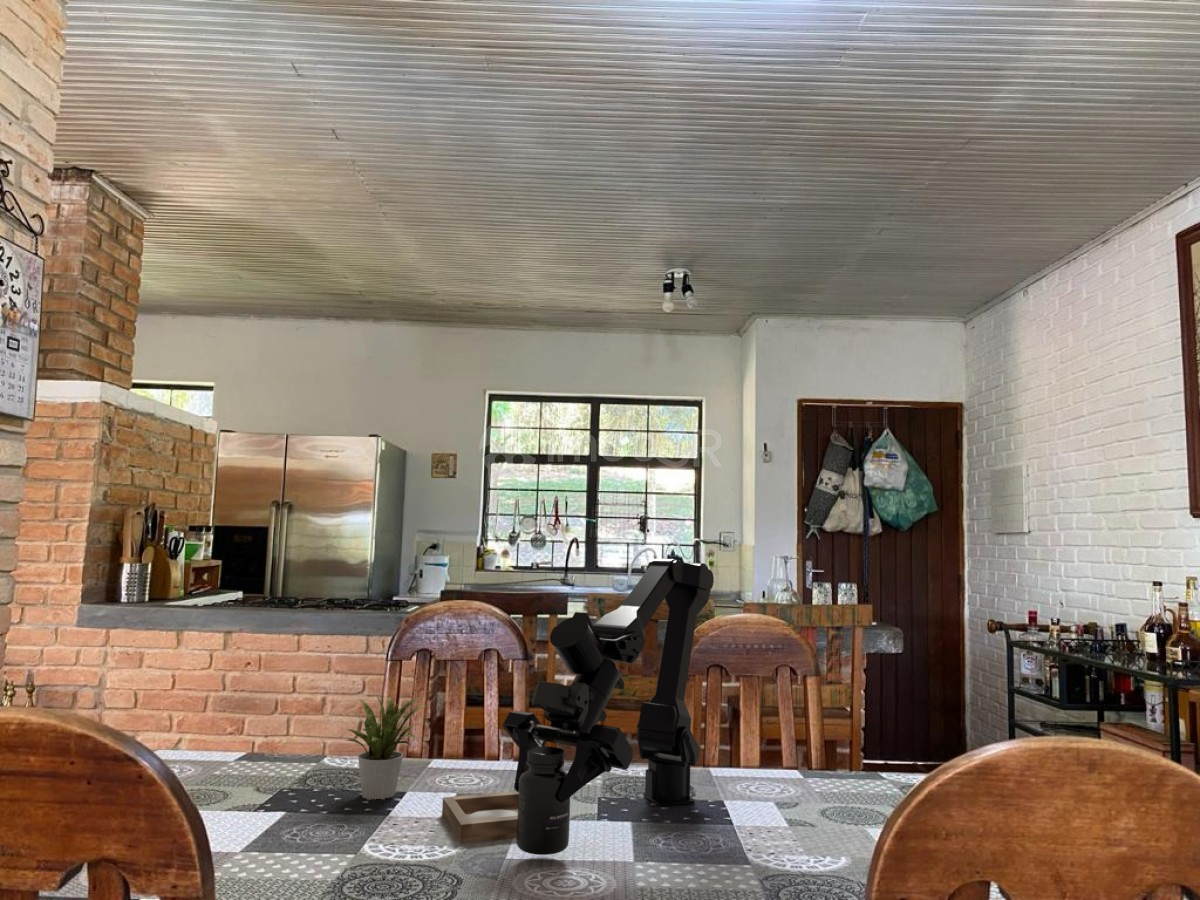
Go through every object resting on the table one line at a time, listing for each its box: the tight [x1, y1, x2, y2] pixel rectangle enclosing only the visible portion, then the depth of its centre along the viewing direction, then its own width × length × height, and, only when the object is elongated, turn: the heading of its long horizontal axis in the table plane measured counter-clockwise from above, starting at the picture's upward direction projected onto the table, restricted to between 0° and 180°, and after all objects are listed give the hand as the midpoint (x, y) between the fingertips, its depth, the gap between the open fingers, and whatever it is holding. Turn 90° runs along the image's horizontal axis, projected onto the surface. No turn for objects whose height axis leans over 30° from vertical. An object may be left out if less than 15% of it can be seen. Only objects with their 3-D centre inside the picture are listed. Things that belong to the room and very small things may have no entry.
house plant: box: [344, 692, 430, 801], centre depth 130 cm, size 14×14×16 cm
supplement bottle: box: [516, 745, 571, 856], centre depth 103 cm, size 7×7×12 cm
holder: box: [441, 790, 518, 844], centre depth 116 cm, size 13×13×2 cm
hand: (537, 795), depth 102 cm, fingers closed on supplement bottle, 7 cm apart
